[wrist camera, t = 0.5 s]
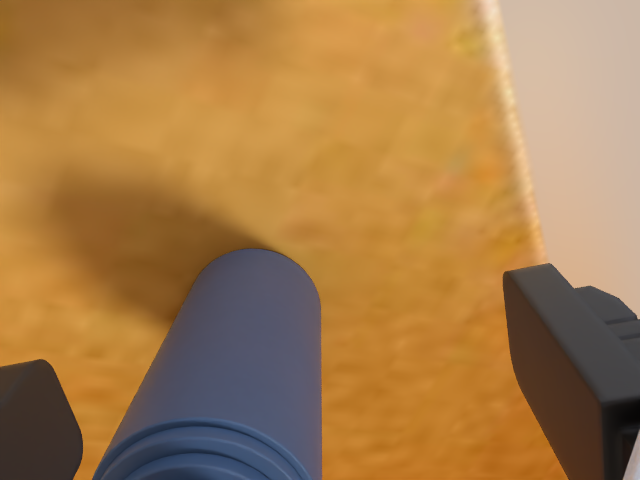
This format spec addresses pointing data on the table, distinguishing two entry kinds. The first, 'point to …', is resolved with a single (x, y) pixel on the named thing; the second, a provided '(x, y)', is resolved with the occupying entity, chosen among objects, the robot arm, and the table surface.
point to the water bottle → (231, 381)
